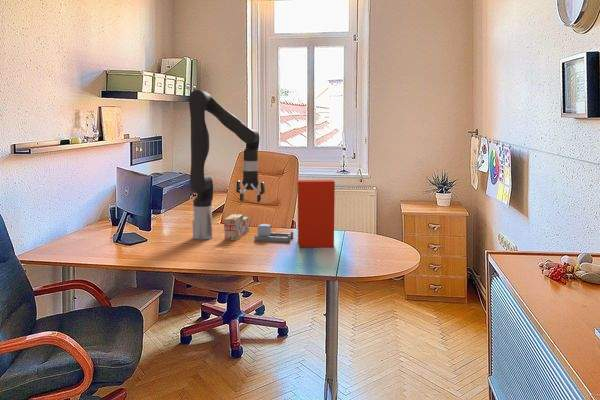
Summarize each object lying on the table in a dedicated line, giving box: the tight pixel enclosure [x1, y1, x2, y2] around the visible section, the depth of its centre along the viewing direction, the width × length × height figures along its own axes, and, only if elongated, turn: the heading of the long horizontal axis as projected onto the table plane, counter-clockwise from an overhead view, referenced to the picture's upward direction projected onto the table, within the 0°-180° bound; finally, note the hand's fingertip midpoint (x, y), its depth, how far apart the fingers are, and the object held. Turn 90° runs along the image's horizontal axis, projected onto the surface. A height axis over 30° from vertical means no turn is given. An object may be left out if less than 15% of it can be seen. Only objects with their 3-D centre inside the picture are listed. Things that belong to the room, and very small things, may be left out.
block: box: [257, 223, 272, 236], centre depth 246 cm, size 6×6×7 cm
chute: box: [253, 230, 294, 244], centre depth 246 cm, size 18×9×5 cm, turn 80°
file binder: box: [297, 179, 336, 248], centre depth 236 cm, size 8×17×32 cm, turn 93°
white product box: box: [223, 213, 250, 241], centre depth 254 cm, size 21×6×12 cm, turn 169°
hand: (250, 201), depth 245 cm, fingers open, 8 cm apart
